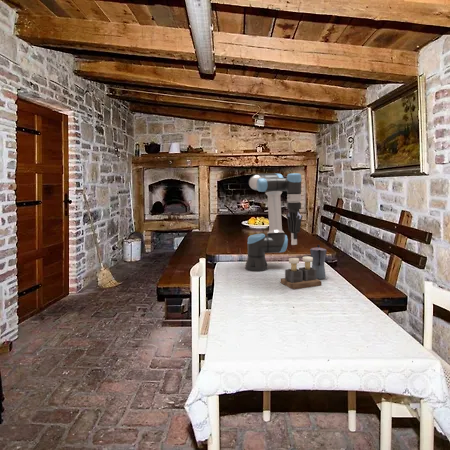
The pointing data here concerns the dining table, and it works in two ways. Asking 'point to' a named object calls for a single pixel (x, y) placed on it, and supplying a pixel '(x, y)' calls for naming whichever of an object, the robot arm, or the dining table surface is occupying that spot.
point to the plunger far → (307, 262)
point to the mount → (300, 278)
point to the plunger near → (293, 263)
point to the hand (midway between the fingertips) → (294, 244)
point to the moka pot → (318, 261)
